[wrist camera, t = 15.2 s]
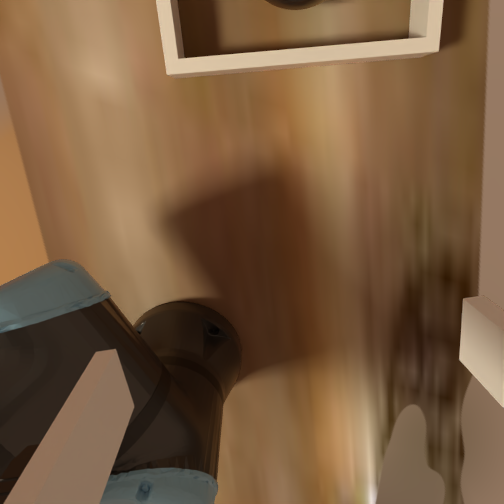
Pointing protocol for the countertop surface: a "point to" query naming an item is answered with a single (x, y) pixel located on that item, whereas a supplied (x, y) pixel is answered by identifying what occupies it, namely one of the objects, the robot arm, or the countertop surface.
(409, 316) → the countertop surface
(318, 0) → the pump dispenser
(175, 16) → the box
